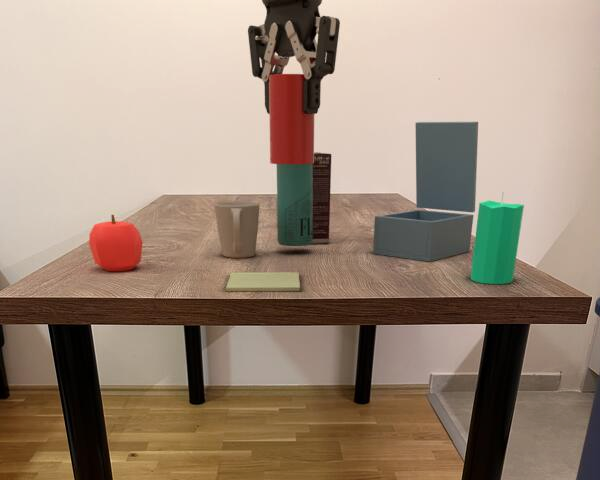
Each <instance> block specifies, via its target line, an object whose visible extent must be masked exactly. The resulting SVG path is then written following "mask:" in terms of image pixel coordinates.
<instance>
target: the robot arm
mask: <svg viewBox="0 0 600 480" xmlns="http://www.w3.org/2000/svg"><path fill="white" fill-rule="evenodd" d="M261 2H262V4H263V5H264V8H265V9H266V13H265V19H264V23H263V24H260V25H251V24H250V25H249V26H248V28H247V35H248V45H249V55H250V63H251V73H252V76H253V78H257V79H260V80H262V82H263V84H264V108H265V110H266V113H267V114H268V115H269V75H274V74H284V69H285V67H286V66H288V63H289V61H290V58H293V57H295V59H296V61H297V62H298V63H299V64H300V67H301V70H302V74H304V77H305V78H306V81H303V112H304V113H305V114H314V115H316V114H318V113H319V109H320V107H321V92H322V91H321V87H322V86H321V85H322V83H321V82H322V80H323V79H324V77H326V76H328V75H333V74H334V73H335V70H336V61H337V52H338V44H339V43H338V42H339V35H340V27H341V22H340V21H341V20H340V19H339V18H338V17H334V16H330V15H322V16H321V14H320V9H319V6H321V5H322V3H323V0H261ZM316 37H317V40H316ZM276 54H277V55H276Z"/></svg>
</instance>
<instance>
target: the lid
mask: <svg viewBox="0 0 600 480" xmlns="http://www.w3.org/2000/svg"><path fill="white" fill-rule="evenodd" d="M414 123H415V124H414V125H415V190H416V191H415V192H416V193H415V194H416V196H415V198H416V201H415V202H416V203H415V205H416V208H417V209H427V210H429V209H430V210H438V211H439V210H440V211H450V212H451V211H452V212H460V213H461V212H463V213H475V212H476V197H477V195H476V194H477V171H478V170H477V169H478V168H477V167H478V166H477V165H478V141H479V137H478V136H479V121H417V122H414Z"/></svg>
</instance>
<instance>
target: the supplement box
mask: <svg viewBox="0 0 600 480" xmlns="http://www.w3.org/2000/svg"><path fill="white" fill-rule="evenodd" d="M312 178H313V191H314V192H313V193H314V194H313V227H312V229H313V234H312V239H313V240H312V244H311V245H321V244H323V245H324V244H329V243H330V220H331V219H330V218H331V216H330V215H331V187H332V186H331V185H332V184H331V183H332V182H331V181H332V180H331V178H332V153H327V152H315V151H314V164H312Z"/></svg>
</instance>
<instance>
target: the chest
mask: <svg viewBox="0 0 600 480" xmlns="http://www.w3.org/2000/svg"><path fill="white" fill-rule="evenodd" d="M473 224H474V214H469V213H457V212H448V211H447V212H446V211H437V210H425V209H411V210H405V211H399V212H392V213H387V214H380V215H375V216H374V227H373V243H372V244H373V245H372V247H373V248H372V254H375V255H381V256H389V257H395V258H401V259H410V260H415V261H422V262H430V263H431V262H435V261H438V260H442V259H446V258H449V257H450V258H451V257H453V256H457V255H461V254H466V253H468V252H470V250H471V241H472V233H473Z"/></svg>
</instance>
